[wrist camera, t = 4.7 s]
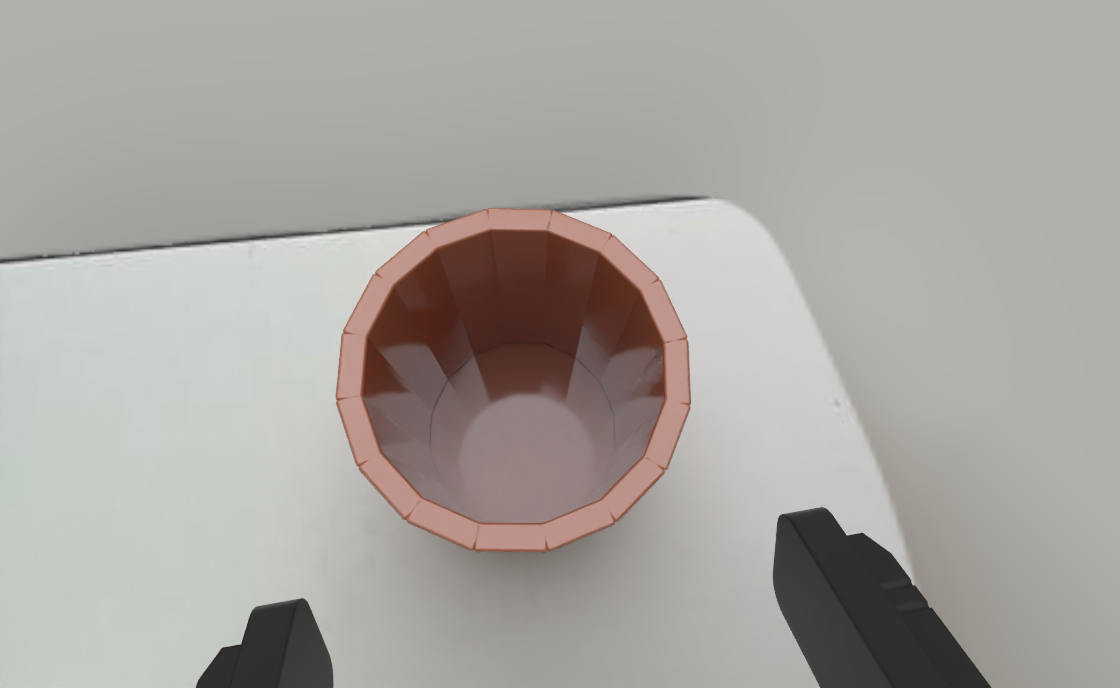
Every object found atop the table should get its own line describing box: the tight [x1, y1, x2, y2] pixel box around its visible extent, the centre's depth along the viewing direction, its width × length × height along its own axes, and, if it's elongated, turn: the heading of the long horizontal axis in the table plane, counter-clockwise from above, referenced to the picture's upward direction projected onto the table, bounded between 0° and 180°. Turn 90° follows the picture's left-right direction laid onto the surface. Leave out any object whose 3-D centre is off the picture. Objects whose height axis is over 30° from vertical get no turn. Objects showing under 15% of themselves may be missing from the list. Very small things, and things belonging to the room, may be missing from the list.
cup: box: [336, 208, 691, 553], centre depth 17 cm, size 7×7×9 cm
